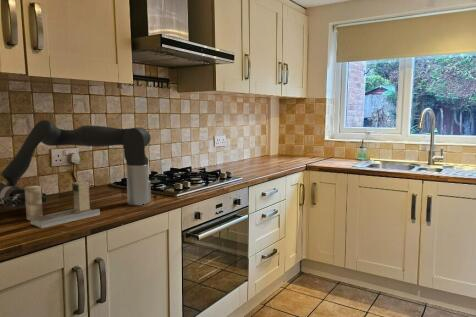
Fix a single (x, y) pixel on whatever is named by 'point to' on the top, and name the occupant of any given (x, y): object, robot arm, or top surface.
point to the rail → (77, 213)
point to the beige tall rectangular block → (33, 201)
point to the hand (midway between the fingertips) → (33, 201)
